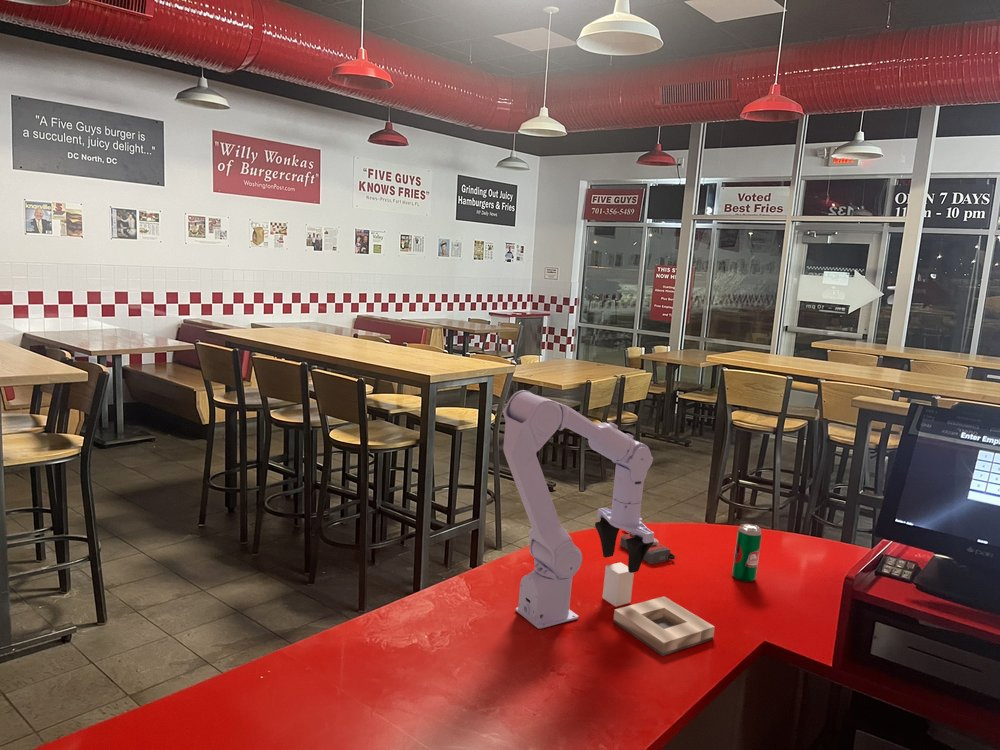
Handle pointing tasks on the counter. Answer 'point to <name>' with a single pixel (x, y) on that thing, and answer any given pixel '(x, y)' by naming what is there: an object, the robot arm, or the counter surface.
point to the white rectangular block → (617, 584)
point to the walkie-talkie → (651, 551)
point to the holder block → (663, 625)
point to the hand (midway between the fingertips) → (620, 563)
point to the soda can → (747, 552)
